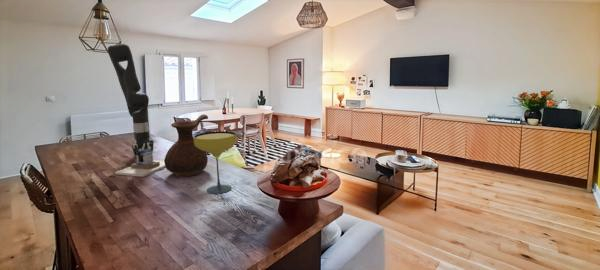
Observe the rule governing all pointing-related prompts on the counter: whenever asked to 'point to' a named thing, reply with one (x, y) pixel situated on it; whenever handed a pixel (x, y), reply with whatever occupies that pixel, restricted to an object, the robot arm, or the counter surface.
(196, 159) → the jug
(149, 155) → the medicine box
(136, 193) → the counter surface
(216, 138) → the cocktail glass
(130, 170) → the board
